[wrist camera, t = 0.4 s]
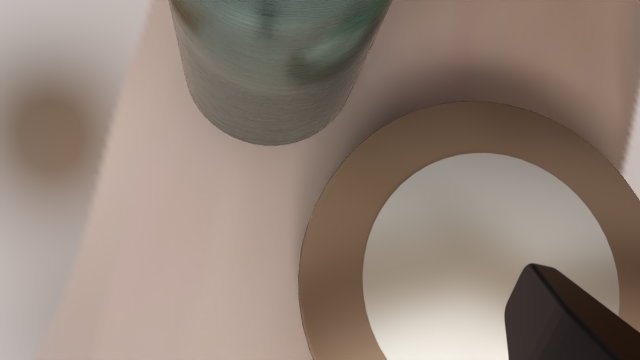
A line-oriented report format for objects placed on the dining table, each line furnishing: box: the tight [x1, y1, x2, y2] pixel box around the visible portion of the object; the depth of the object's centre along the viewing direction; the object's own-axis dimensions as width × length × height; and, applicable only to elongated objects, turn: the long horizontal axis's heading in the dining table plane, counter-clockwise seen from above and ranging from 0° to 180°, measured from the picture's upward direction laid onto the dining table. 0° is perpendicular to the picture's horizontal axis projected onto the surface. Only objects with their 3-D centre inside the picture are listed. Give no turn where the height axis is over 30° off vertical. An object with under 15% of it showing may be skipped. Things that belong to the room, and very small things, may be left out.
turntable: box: [298, 101, 640, 360], centre depth 21 cm, size 13×13×1 cm
